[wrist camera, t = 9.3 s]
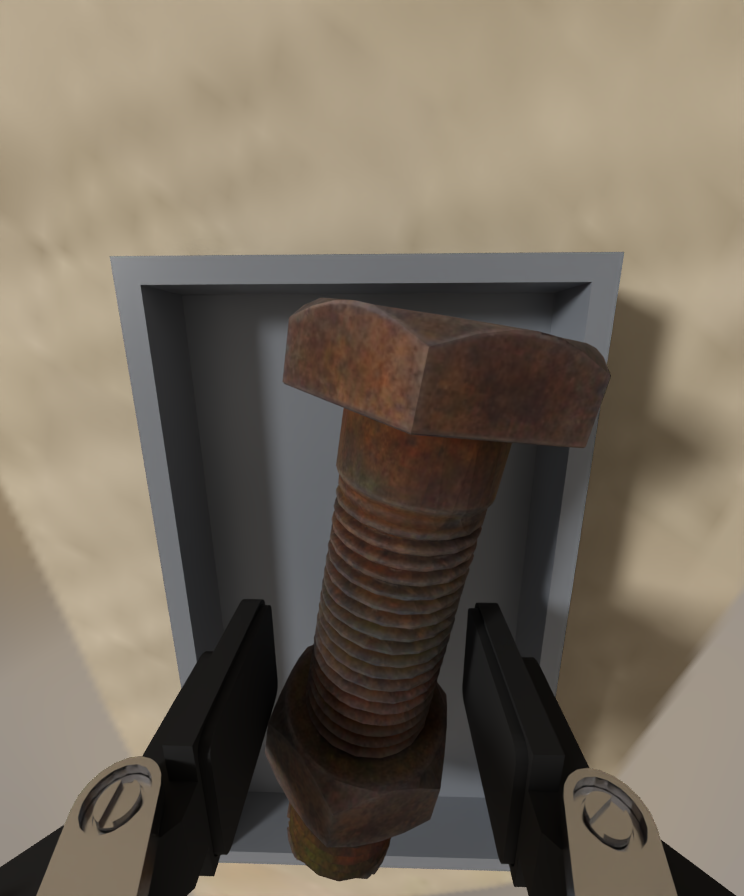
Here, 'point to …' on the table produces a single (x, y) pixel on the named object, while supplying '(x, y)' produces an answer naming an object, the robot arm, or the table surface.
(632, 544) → the table surface
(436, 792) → the bolt
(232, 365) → the parts tray
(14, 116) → the table surface
